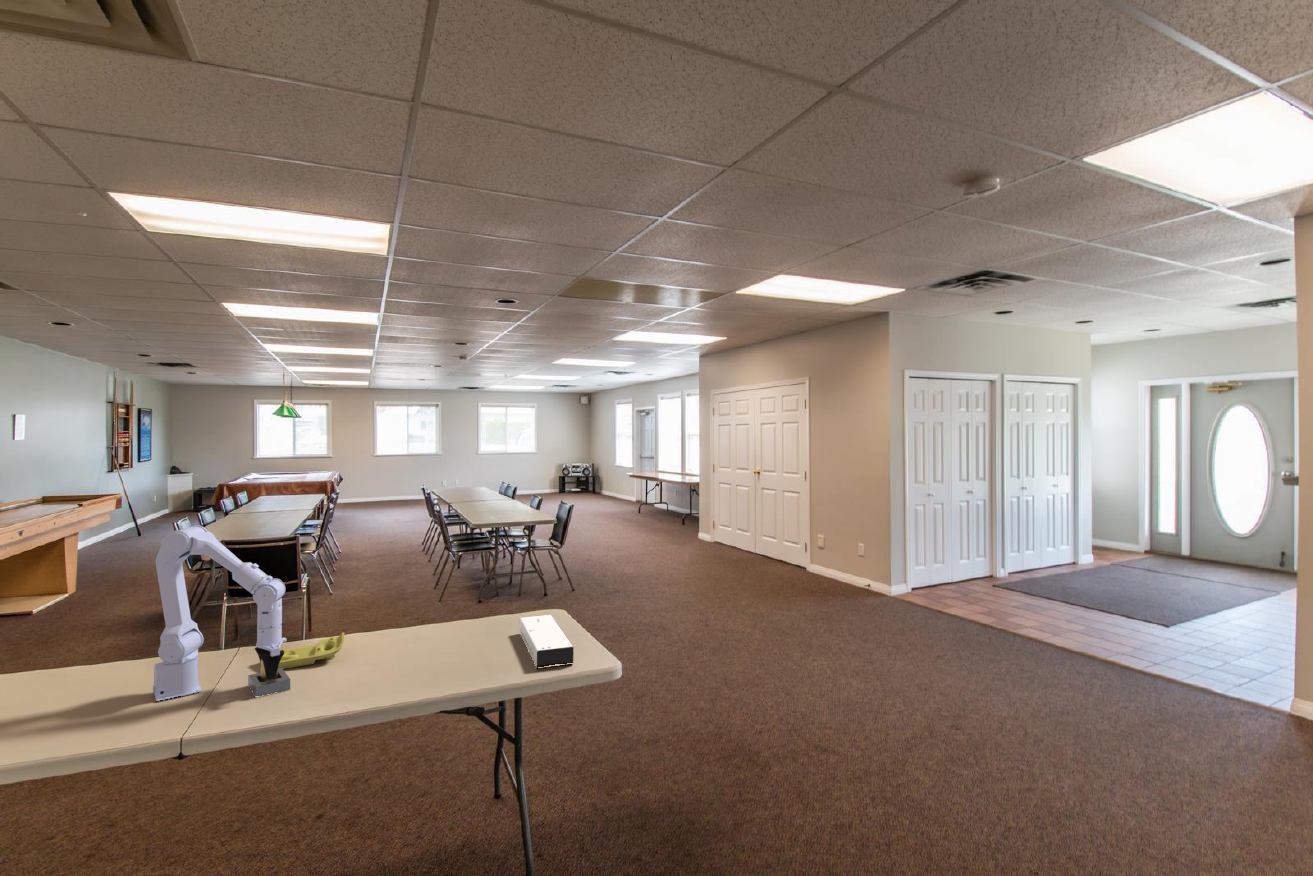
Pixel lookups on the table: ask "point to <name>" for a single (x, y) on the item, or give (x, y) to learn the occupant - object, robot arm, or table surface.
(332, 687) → the table surface
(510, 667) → the table surface
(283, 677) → the frame
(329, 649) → the plastic component
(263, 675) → the gold metal cylinder
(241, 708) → the table surface
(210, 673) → the table surface
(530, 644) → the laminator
